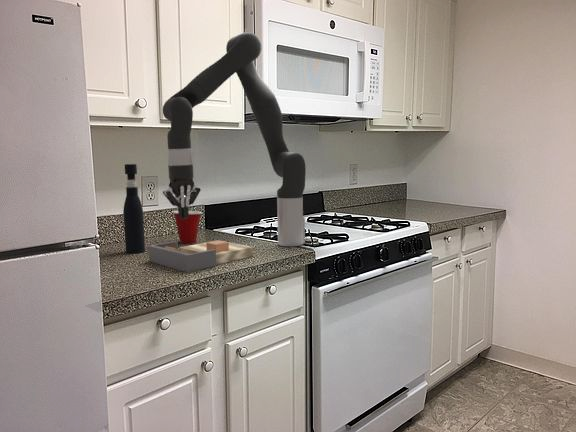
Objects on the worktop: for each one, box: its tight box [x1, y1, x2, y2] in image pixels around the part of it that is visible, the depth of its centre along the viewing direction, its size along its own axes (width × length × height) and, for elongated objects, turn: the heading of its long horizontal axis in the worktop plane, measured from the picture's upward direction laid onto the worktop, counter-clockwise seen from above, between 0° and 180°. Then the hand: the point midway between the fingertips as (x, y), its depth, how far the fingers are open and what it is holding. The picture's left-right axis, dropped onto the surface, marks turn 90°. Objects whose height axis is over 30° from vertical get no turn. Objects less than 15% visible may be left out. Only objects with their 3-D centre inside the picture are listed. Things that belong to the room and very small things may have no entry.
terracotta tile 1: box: [165, 246, 180, 252], centre depth 152 cm, size 5×5×2 cm
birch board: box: [179, 239, 254, 265], centre depth 160 cm, size 16×18×3 cm
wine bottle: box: [123, 163, 146, 254], centre depth 166 cm, size 6×6×30 cm
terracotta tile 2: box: [205, 240, 229, 253], centre depth 155 cm, size 5×5×2 cm
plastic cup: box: [172, 210, 203, 245], centre depth 183 cm, size 11×11×12 cm
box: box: [147, 240, 217, 273], centre depth 150 cm, size 10×21×5 cm, turn 46°
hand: (183, 218), depth 154 cm, fingers closed
